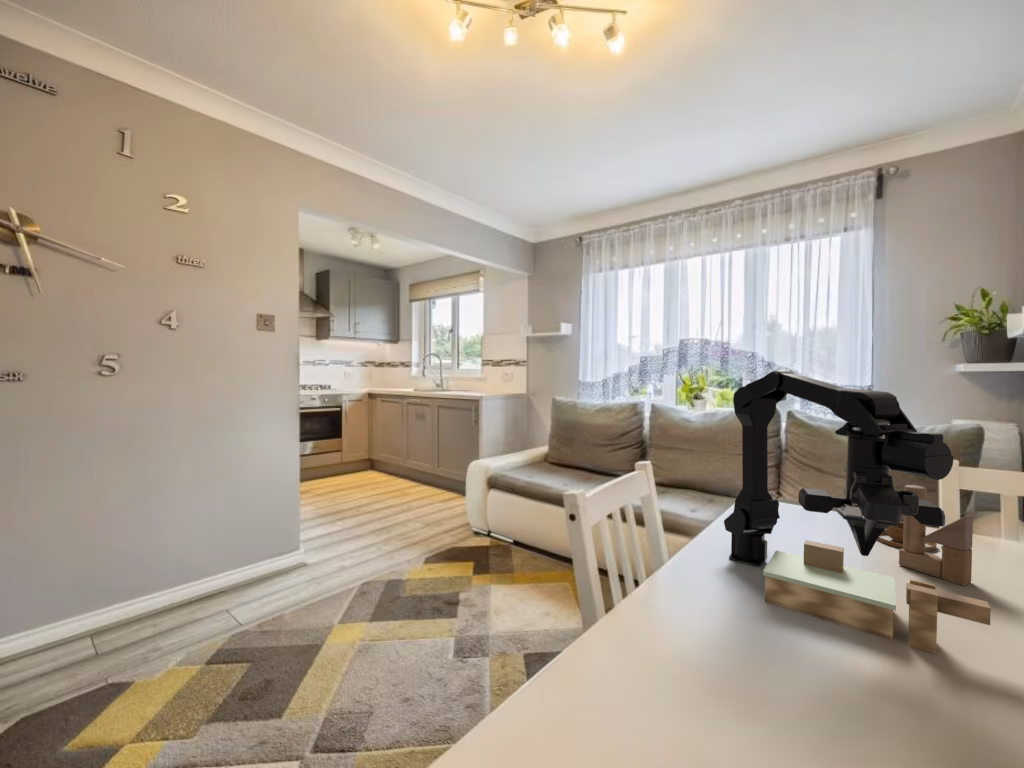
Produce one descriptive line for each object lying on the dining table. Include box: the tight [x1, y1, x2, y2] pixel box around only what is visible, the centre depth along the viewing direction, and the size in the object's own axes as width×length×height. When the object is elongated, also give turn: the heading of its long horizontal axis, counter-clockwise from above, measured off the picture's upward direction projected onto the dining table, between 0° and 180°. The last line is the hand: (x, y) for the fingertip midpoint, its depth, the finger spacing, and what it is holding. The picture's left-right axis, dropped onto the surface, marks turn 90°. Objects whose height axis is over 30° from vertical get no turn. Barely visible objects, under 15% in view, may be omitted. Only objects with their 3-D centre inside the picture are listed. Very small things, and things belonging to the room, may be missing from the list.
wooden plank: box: [905, 582, 992, 626], centre depth 67 cm, size 9×2×2 cm, turn 49°
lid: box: [762, 539, 897, 612], centre depth 80 cm, size 19×13×5 cm
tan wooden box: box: [764, 576, 938, 655], centre depth 78 cm, size 23×12×9 cm, turn 49°
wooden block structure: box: [898, 484, 974, 586], centre depth 93 cm, size 4×11×18 cm, turn 26°
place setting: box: [877, 521, 943, 553], centre depth 114 cm, size 18×20×6 cm
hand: (864, 555), depth 75 cm, fingers closed
